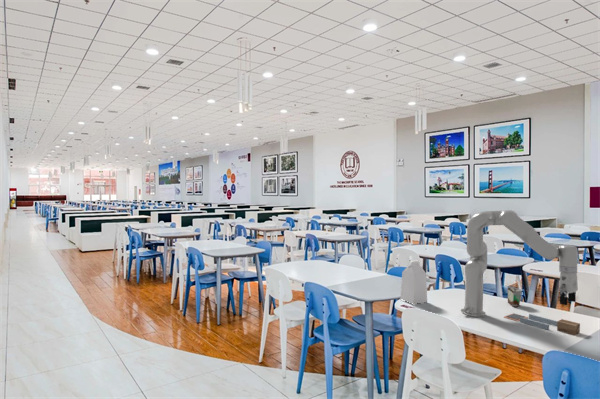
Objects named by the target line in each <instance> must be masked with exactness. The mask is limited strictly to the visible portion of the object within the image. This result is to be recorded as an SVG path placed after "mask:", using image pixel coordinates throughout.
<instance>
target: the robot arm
mask: <svg viewBox="0 0 600 399" xmlns="http://www.w3.org/2000/svg"><path fill="white" fill-rule="evenodd" d="M489 226H504V227H505V228H506V229H507V230H508V231H510V232H512V233H513V235H515V236H516V237H518V238H519V239H520V240H522V241H523V242H524V244H526V245H527V246H528V247H529V248H531V249H532V250H533V251H534V252H536V253H537V254H538V255H539V256H541V257H542V258H544V259H545V260H550V261H551V260H555V259H557V258H558V260H559V262H558V263H559V265H558V266H559V268H558V272H559V273H560V275H559V289H558V290H559V292H558V293H559V304H560V305H563V306H567V305H568V301H569V302H573V303H576V300H577V299H576V298H577V296H576V295H577V292H578V290H579V289H578V282H579V281H578V247H577V246H576V245H570V244H558V243H553V242H552V243H550V242H548V241H547V240H546V239H544V238H543V237H542V236H541V235H539V233H538V232H537V231H536V229H535V228H534V227H533V226H532V225H531V224H529V223H528V222H526V221H525V220H524V219H522V218H521V217H520V216H518V214H517V213H516V211H514V210H509V209H508V210H488V211H480V212H478V213H475V214H474V215H472V216H471V217H470V218H469V220H468V222H467V226H466V253H467V255H468V256H469V260H468V261H467V262H466V264H465V266H464V276H465V279H464V280H465V281H464V284H465V285H464V286H465V287H464V288H465V289H464V290H465V291H464V307H463V308H461V309H460V312H461V313H462V314H463V315H466V316H470V317H477V318H478V317H479V318H483V317H485V316H486V312H485V311H484V310H483V309H484V308H483V307H484V306H483V305H484V273H485V271H487V268H488V246H487V244H486V242H485V241H484V228H486V227H489Z"/></svg>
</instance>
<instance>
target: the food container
mask: <svg viewBox="0 0 600 399" xmlns="http://www.w3.org/2000/svg"><path fill="white" fill-rule="evenodd" d="M506 290H507V304H508V305H509V306H511V307H512V308H519V307H520V303H521V296H522V290H521V289H520V288H516V287H511V286H507V288H506Z"/></svg>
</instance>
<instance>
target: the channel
mask: <svg viewBox="0 0 600 399" xmlns="http://www.w3.org/2000/svg"><path fill="white" fill-rule="evenodd" d="M519 323H522V324H525V325H529V326H533V327H536V328H540V329H544V330H547V331H548V330H549V329H550V326H551V325H552V326H554V327H557V320H554V319H552V318H551V319H550V318H547V317H543V316H539V315H535V314H531V313H529V314H528V318H522V317H520V321H519Z"/></svg>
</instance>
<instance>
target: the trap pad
mask: <svg viewBox="0 0 600 399" xmlns="http://www.w3.org/2000/svg"><path fill="white" fill-rule="evenodd" d="M520 317H522V318H526V319H529V316H525V315H521V314H517V313H514V312H513V313H511V314H508V315H505V316H503V318H504V319H508V320H510V321H511V320H512V321H515V322H520Z"/></svg>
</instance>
